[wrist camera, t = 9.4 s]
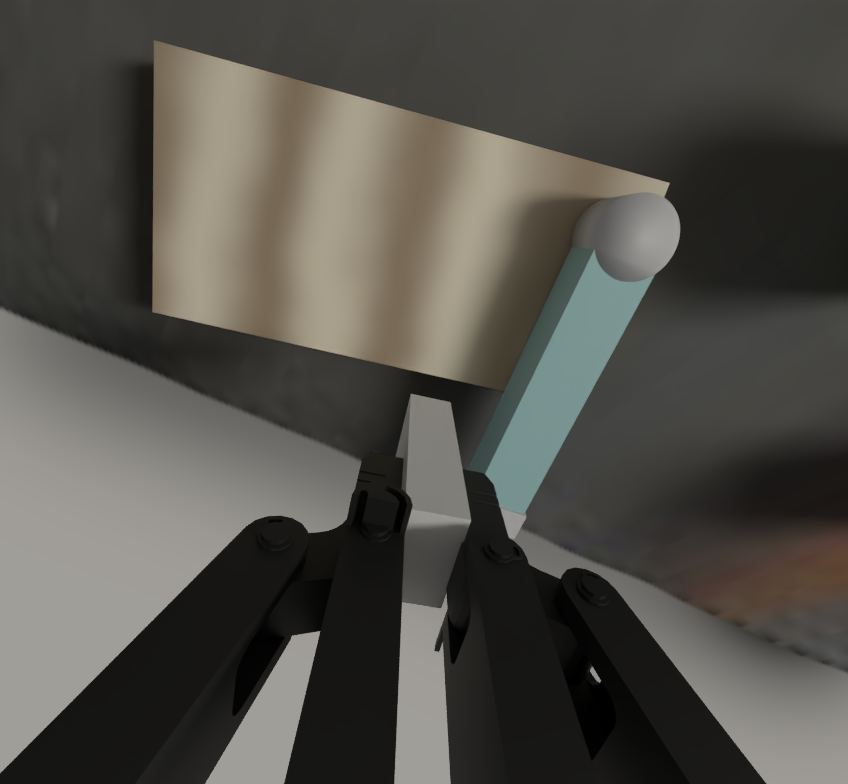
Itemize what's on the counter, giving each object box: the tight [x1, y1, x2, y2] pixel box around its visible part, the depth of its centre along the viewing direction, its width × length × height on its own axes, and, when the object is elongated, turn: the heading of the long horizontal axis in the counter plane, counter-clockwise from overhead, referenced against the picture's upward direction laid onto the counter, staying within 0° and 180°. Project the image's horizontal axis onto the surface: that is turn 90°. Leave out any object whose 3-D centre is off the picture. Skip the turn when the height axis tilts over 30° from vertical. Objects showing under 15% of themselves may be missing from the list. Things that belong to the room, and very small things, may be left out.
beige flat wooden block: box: [152, 40, 670, 391], centre depth 22 cm, size 24×12×3 cm, turn 77°
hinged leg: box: [466, 192, 680, 539], centre depth 22 cm, size 18×4×3 cm, turn 160°
